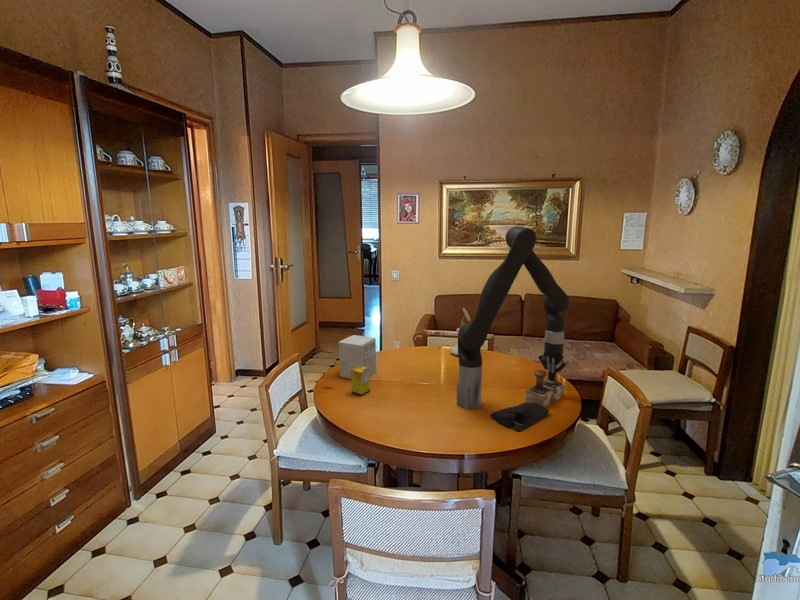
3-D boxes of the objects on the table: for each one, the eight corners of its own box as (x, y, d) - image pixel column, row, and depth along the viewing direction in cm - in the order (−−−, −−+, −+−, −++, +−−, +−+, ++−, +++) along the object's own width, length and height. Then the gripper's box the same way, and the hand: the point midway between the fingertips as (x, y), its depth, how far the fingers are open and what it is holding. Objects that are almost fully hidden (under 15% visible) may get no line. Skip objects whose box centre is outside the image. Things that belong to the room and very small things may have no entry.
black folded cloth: (555, 417, 166) (556, 406, 165) (516, 434, 154) (516, 422, 153) (524, 403, 178) (525, 392, 177) (485, 418, 167) (485, 406, 166)
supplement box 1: (377, 371, 213) (376, 337, 210) (362, 381, 202) (361, 345, 198) (354, 367, 219) (353, 334, 216) (339, 376, 208) (337, 341, 204)
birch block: (542, 407, 173) (543, 394, 172) (525, 401, 179) (525, 387, 178) (563, 396, 183) (564, 383, 182) (546, 390, 189) (547, 377, 188)
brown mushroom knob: (552, 397, 180) (553, 383, 179) (542, 394, 184) (543, 379, 183) (559, 394, 183) (560, 380, 182) (548, 390, 187) (549, 376, 186)
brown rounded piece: (541, 390, 174) (542, 375, 172) (530, 386, 177) (531, 371, 176) (548, 387, 177) (548, 372, 175) (537, 383, 180) (538, 368, 179)
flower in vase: (465, 358, 229) (466, 312, 224) (446, 355, 235) (446, 310, 230) (475, 351, 240) (476, 307, 234) (457, 348, 246) (457, 305, 240)
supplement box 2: (360, 388, 194) (359, 365, 192) (370, 391, 191) (369, 367, 188) (351, 392, 190) (350, 369, 187) (361, 396, 186) (360, 372, 184)
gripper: (534, 338, 181) (532, 377, 185) (564, 346, 171) (561, 387, 175) (545, 335, 186) (542, 373, 190) (574, 342, 176) (571, 382, 180)
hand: (551, 379), depth 182 cm, fingers closed
